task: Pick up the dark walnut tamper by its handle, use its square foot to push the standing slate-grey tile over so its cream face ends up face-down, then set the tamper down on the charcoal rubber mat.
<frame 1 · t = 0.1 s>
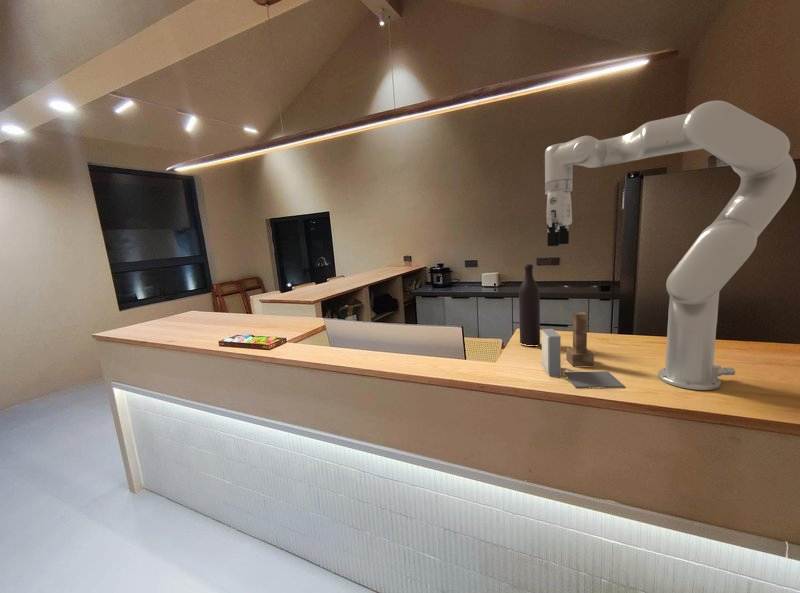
hand: (558, 244, 107), 37 cm above the countertop, tool pointing down, fingers open, 9 cm apart
tile: (551, 370, 103), on the countertop
mat: (592, 380, 95), on the countertop
wine bottle: (530, 344, 129), on the countertop
tamper: (579, 363, 108), on the countertop
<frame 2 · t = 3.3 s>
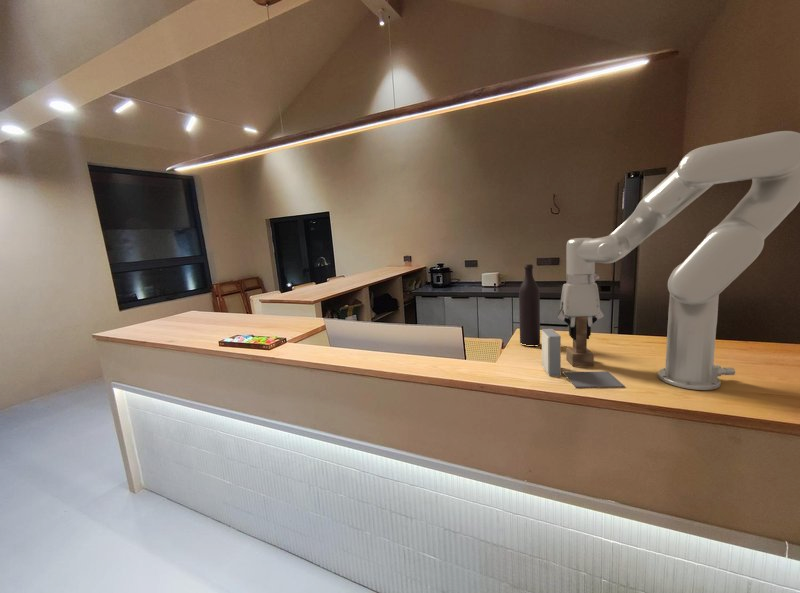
hand: (579, 337, 106), 8 cm above the countertop, tool pointing down, fingers closed on tamper, 3 cm apart
tamper: (579, 362, 108), on the countertop, touching gripper
everything else where it was.
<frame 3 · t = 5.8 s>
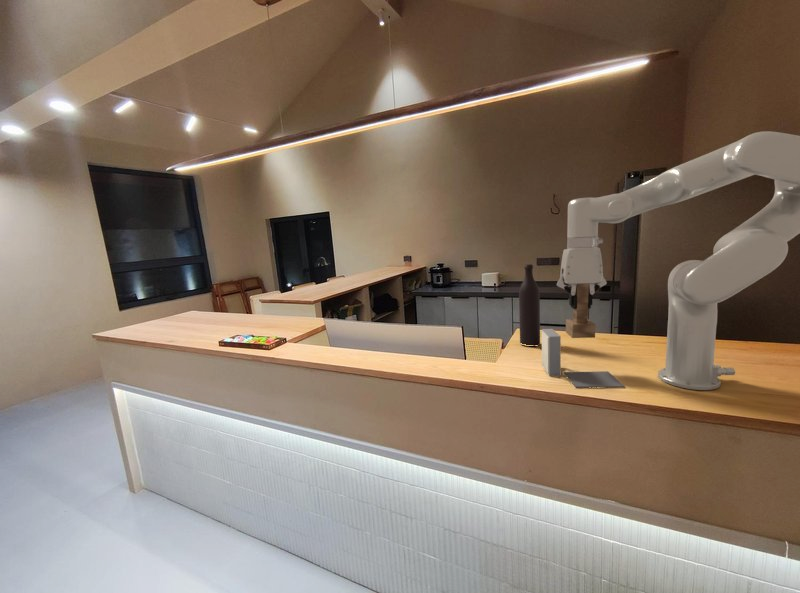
hand: (580, 307, 99), 19 cm above the countertop, tool pointing down, fingers closed on tamper, 3 cm apart
tamper: (579, 334, 101), point 11 cm above the countertop, touching gripper
everything else where it was.
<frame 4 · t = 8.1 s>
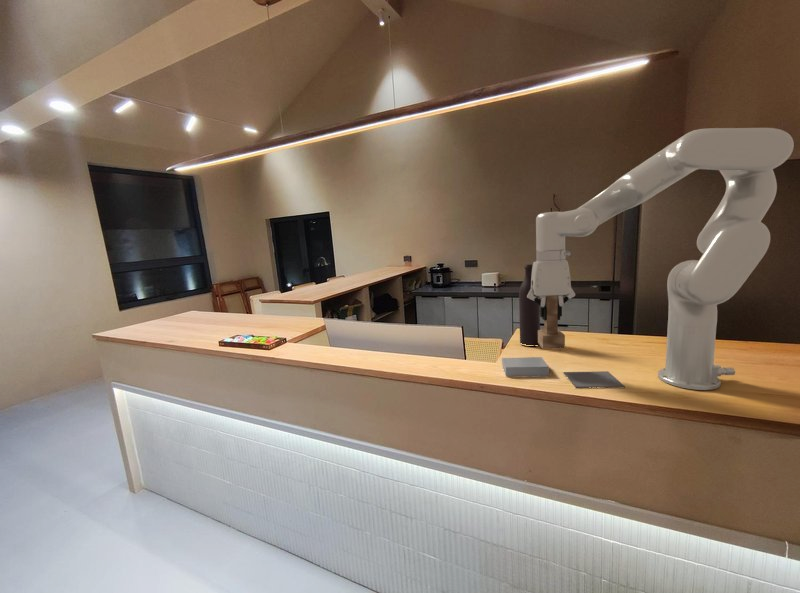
hand: (550, 318, 101), 16 cm above the countertop, tool pointing down, fingers closed on tamper, 3 cm apart
tile: (545, 366, 104), point 1 cm above the countertop, tilted 90°
tamper: (550, 345, 102), point 8 cm above the countertop, touching gripper
everything else where it was.
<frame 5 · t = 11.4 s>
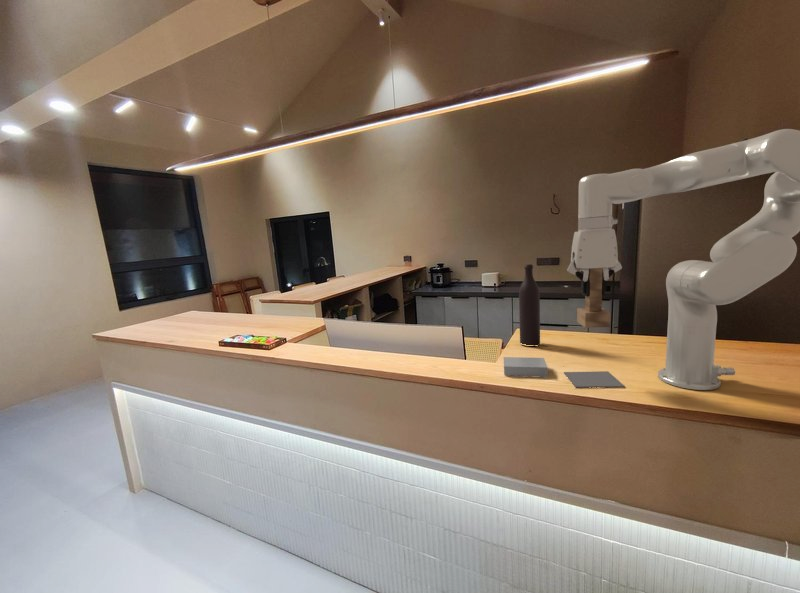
hand: (593, 294, 91), 24 cm above the countertop, tool pointing down, fingers closed on tamper, 3 cm apart
tamper: (592, 324, 93), point 16 cm above the countertop, touching gripper
everything else where it was.
when the fingers open (10 cm above the countertop, at t = 14.0 s): tamper drops 1 cm, resting on mat.
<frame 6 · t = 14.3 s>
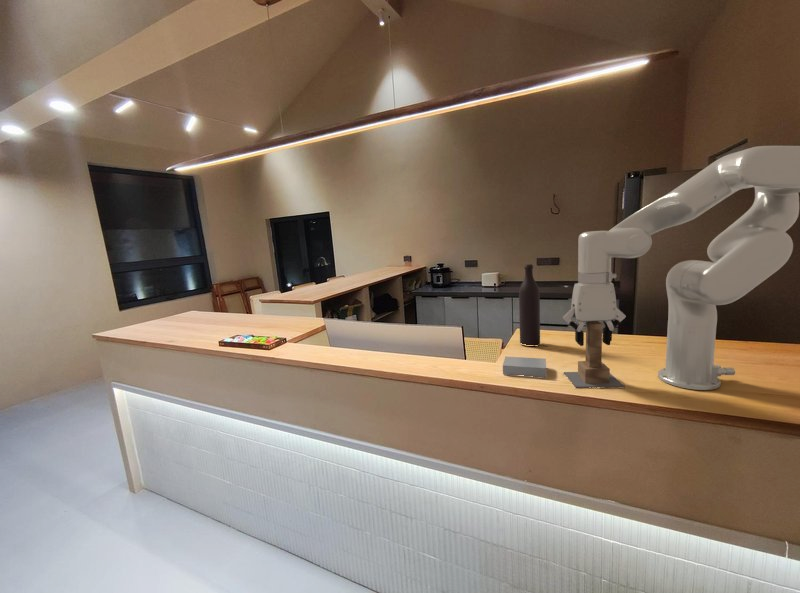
hand: (593, 343, 93), 11 cm above the countertop, tool pointing down, fingers open, 6 cm apart
tamper: (593, 378, 95), resting on mat
everything else where it was.
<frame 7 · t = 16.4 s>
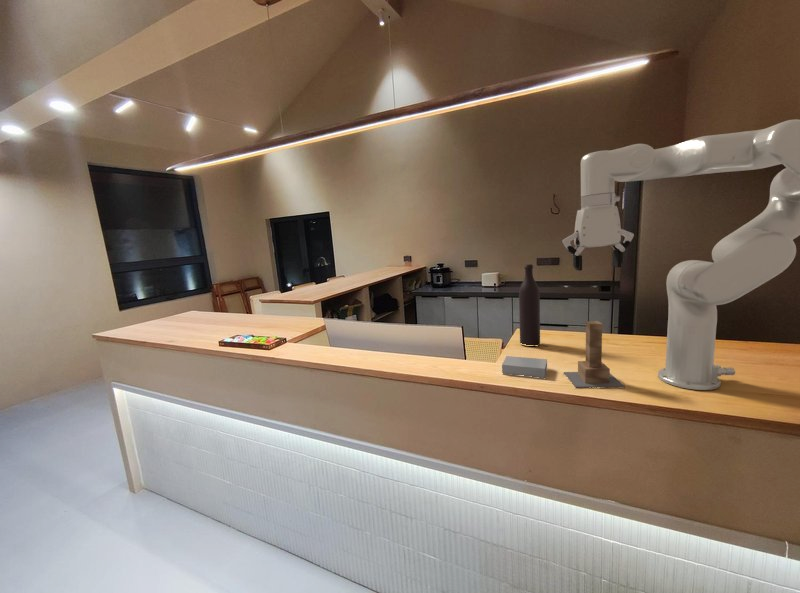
hand: (597, 268, 91), 31 cm above the countertop, tool pointing down, fingers open, 9 cm apart
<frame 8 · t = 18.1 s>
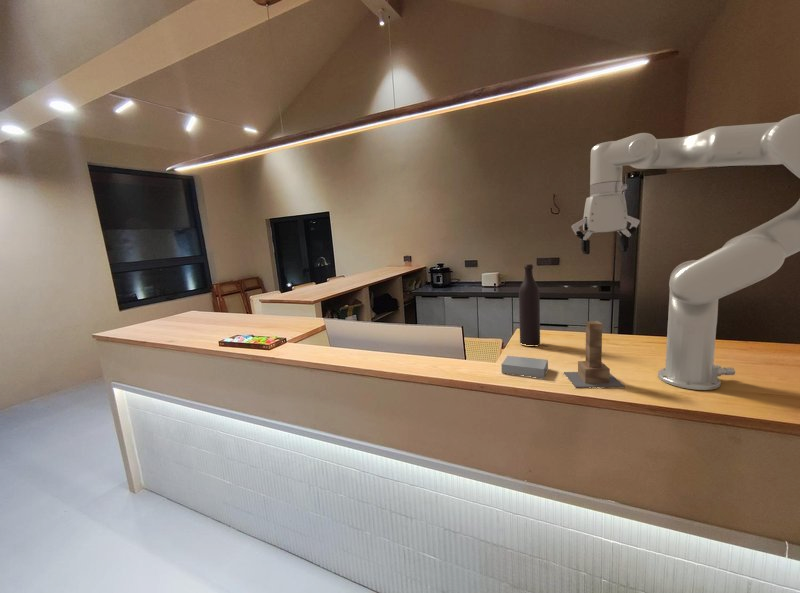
hand: (604, 252, 97), 34 cm above the countertop, tool pointing down, fingers open, 9 cm apart
at the end: tile tilted 90°; tamper inside the target area on the mat (0.1 cm from its centre), point 0.4 cm above the mat's base; the gripper is holding nothing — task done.
